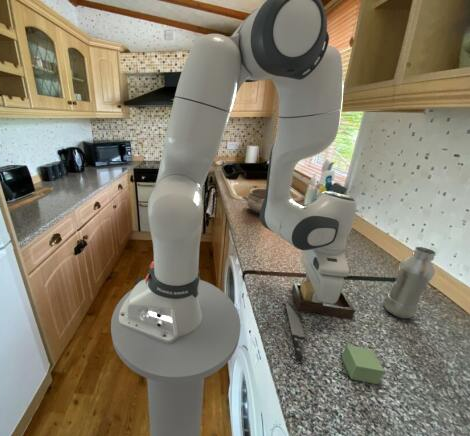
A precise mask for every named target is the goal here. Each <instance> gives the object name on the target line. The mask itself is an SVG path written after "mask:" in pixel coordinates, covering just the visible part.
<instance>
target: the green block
mask: <svg viewBox="0 0 470 436" xmlns="http://www.w3.org/2000/svg"><path fill="white" fill-rule="evenodd" d="M341 359H342V362H343V364H344V367H345V369H346V371H347V374H348V376H349V378H350V380H352V381H353V380H354V381H359V382H363V383H364V382H365V383H369V384H374V385H379V383H380V381H381V379H382V378H383V375H384V374H385V369H384V368H383V366H382V364H381V362H380V361H379V359H378V358H377V356H376V353H374V350H373V348H372V349H371V348H367V347H366V348H365V347H360V346H355V345H348V344H346V345H345V348H344V350H343V352H342V356H341Z"/></svg>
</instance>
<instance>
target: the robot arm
mask: <svg viewBox="0 0 470 436" xmlns="http://www.w3.org/2000/svg"><path fill="white" fill-rule="evenodd" d="M329 42H330V35H329V32H328V21H327V13H326V10H325V7H324V4H323V2H322V0H266V1H264V3H262V4H261V5H260V6H258V7H256V8H255V9H254V10H253V11H251V13H249V14H248V15H247V17H246V18H245V19H244V20H243V21H242V22H241V24H240V25H239V26H238V27H237V28H236V29H235V30H234V31H233V32H232V33H231V34H230V36H226V35H225V34H221V33H208V34H204V35H202V36H200V37H198V38H197V39H196V40H195V41H194V42H193V44H192V46H191V47H190V50H189V52H188V55H187V57H186V59H185V62H184V65H183V68H182V70H181V73H180V76H179V79H178V82H177V86H176V90H175V93H174V98H173V102H172V105H171V111H170V115H169V119H168V124H167V128H166V133H165V137H164V141H163V147H162V152H161V157H160V163H159V168H158V172H157V176H156V180H155V184H154V186H153V190H152V191H151V193H150V196H149V199H148V202H147V216H148V222H149V231H150V236H151V242H152V250H153V261H151V263H150V264H149V269H148V270H147V272H146V276H145V278H142V277H140V278H139V277H136V278H135V284H134V285H135V286H134V287H133V288H132V289H133V290H132V289H131V290H132V292H131V293H130V296H129V297H128V298H127V299H126V300H125V302H124V304H123V305H122V307H121V310H120V313H119V324H120V325H121V326H123V327H125V328H128V329H131V330H133V331H136V332H138V333H141V334H143V335H146V336H149V337H151V338H154V339H156V340H159V341H161V342H164V343H167V344H170V343H172V342H174V341H175V340H176V339H177V338H179V337H181V336H183V335H186V334H189V333H191V332H193V331H194V330H195V329H196V328H197V327H198V326H199V325H200V323H201V320H202V312H201V309H200V305H199V298H198V293H199V289H200V280H201V277H200V276H201V274H200V273H201V272H200V269H199V262H200V261H199V260H200V244H201V237H202V230H203V219H204V202H203V196H202V195H203V188H204V186H205V183H206V181H207V178H208V175H209V172H210V171H211V168H212V165H213V164H214V161H215V159H216V158H217V156H218V153H219V150H220V148H221V145H222V141H223V138H224V135H225V132H226V130H227V125H228V123H229V120H230V116H231V114H232V111H233V107H234V104H235V99H236V96H237V95H238V93H239V91H240V90H241V87H242V86H243V84H244V83H253V82H254V83H255V82H258V81H261V82H266V81H271V82H273V84H274V86H275V87H276V88H275V89H276V91H277V96H278V119H277V120H278V121H277V131H276V137H275V141H274V142H273V144H272V146H271V149H270V153H269V159H268V167H267V175H266V176H267V177H266V185H265V188H266V193H265V198H264V201H263V204H262V207H261V210H260V214H259V221H260V223H261V225H262V226H263V227H264V228H265V229H266V230H268V231H270V232H272V233H274V234H275V235H277V236H278V237H279V238H281V239H282V240H284V241H285V242H287V243H288V244H290V245H291V246H293V247H294V248H296V249H298V250H300V251H302V253H301V257H300V261H301V263H302V266H303V268H304V270H305V281H310V282H311V284H312V286H313V289H314V292H315V293H314V294H312V297H311V298H312V301H313V302H315V303H319V302H322V303H329V304H334V303H336V302H337V301H338V298H339V296H340V293H341V291H342V290H343V287H344V283H345V278H347V277H348V276H349V274H350V268H349V265H348V263H347V259H346V258H347V257H346V252H345V251H346V249H347V239H348V236H349V235H350V233H351V232H352V229H353V227H354V224H355V223H354V222H355V218H356V212H357V202H356V200H355V199H354V198H353V197H351V196H349V195H347V194H342V193H339V192H336V191H331V190H324V191H321V193H320V195H319V197H318V198H316V200H314V201H313V202H311V203H310V204H307V205H302V204H300V203H299V202H296V201H295V200H294V199H293V197H292V196H291V189H292V183H293V178H294V171H295V168H296V166H297V164H298V163H299V162H300V161H302V160H306V159H309V158H313V157H315V156H318V155H319V154H322V153H323V152H324V151H325V150H327V149H328V148H329V147H330V146H331V145H332V144H333V143H334V141H335V140H336V138H337V135H338V133H339V129H340V126H341V116H342V107H343V98H344V97H343V96H344V95H343V94H344V76H343V75H344V73H343V71H344V70H343V60H342V55H341V53H340V51H339V50H338V49H337V48H336V47H334V46H332V45H329ZM163 336H166V337H163Z"/></svg>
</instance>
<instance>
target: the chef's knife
mask: <svg viewBox="0 0 470 436" xmlns="http://www.w3.org/2000/svg"><path fill="white" fill-rule="evenodd" d="M284 302H285V308H286V313H287V318H288V323H289V327H290V331H291V336H292V340H293V344H294V349H295V355H296V357H297V359H298V361H302V360H303V359H304V356H303V354H302V352H301V348H300V345H299V338H306V335H305V333H304V329H303V327H302V323H301V320H300V318H299V316H298V314H297V313H296V311H295V310H294V309H293V307H292V306H291V305H290V304H288V303H287V302H286V301H284Z"/></svg>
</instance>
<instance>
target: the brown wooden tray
mask: <svg viewBox="0 0 470 436" xmlns="http://www.w3.org/2000/svg"><path fill="white" fill-rule="evenodd" d="M300 287H301V283H297V282H293V284H292V289H291V293H292V295H293V299H294V302H295V305H296V308H297V311H298V312H304V313H310V314H311V313H312V314H317V315H324V316H331V317H337V318H344V319H350V320H351V319H352V320H353V318H354V315H355V313H356V309H355V307H354V306H353V304H352V303H351V301H350V300H349V298H348V296H347V295H346V293H345V292H344V289H342V291H341V293H340V296H339V298H338V301H337V302H336V303H334V304H329V303H323V304H320V303H314V302H307V301H303V299H302V296H301V293H300Z"/></svg>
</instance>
